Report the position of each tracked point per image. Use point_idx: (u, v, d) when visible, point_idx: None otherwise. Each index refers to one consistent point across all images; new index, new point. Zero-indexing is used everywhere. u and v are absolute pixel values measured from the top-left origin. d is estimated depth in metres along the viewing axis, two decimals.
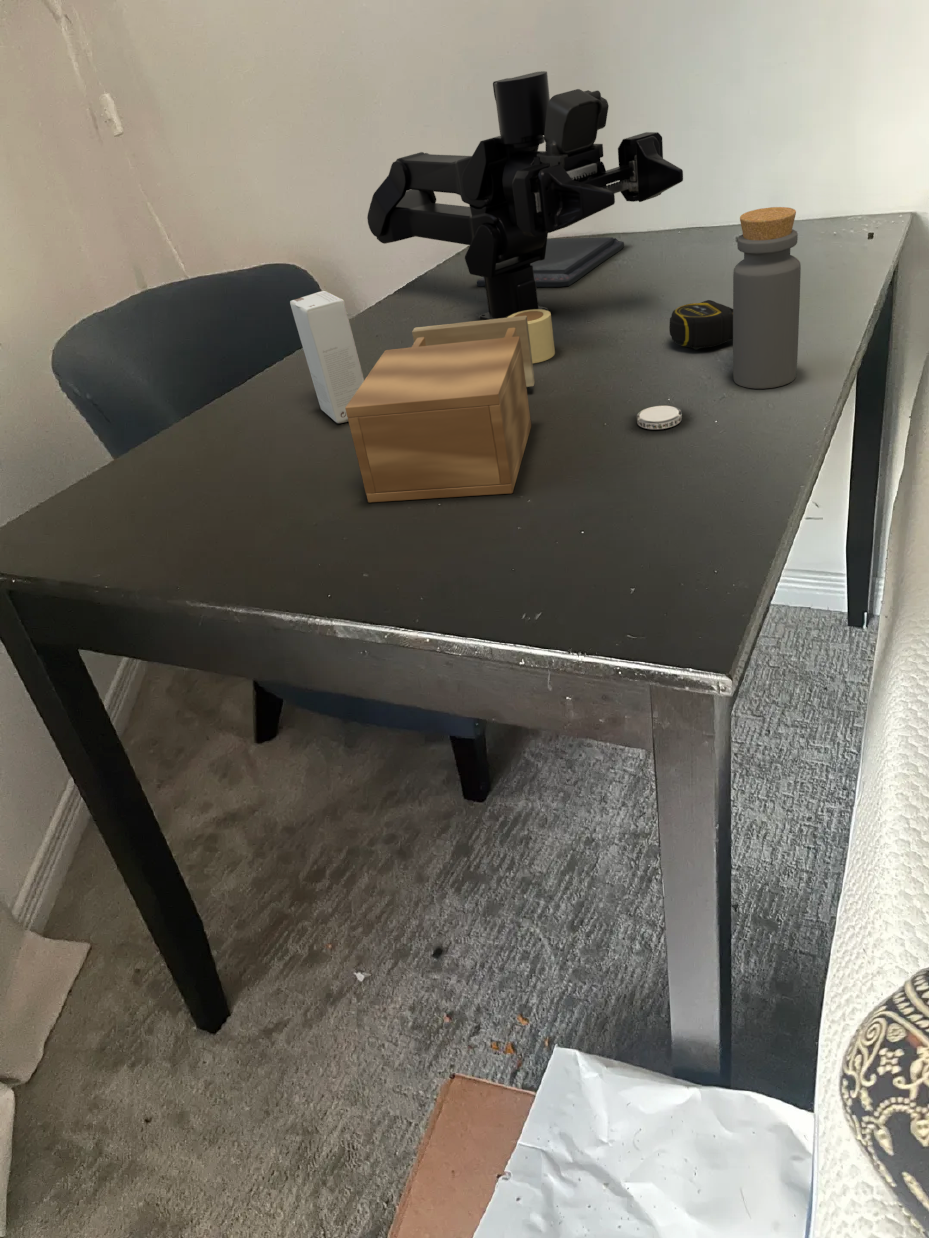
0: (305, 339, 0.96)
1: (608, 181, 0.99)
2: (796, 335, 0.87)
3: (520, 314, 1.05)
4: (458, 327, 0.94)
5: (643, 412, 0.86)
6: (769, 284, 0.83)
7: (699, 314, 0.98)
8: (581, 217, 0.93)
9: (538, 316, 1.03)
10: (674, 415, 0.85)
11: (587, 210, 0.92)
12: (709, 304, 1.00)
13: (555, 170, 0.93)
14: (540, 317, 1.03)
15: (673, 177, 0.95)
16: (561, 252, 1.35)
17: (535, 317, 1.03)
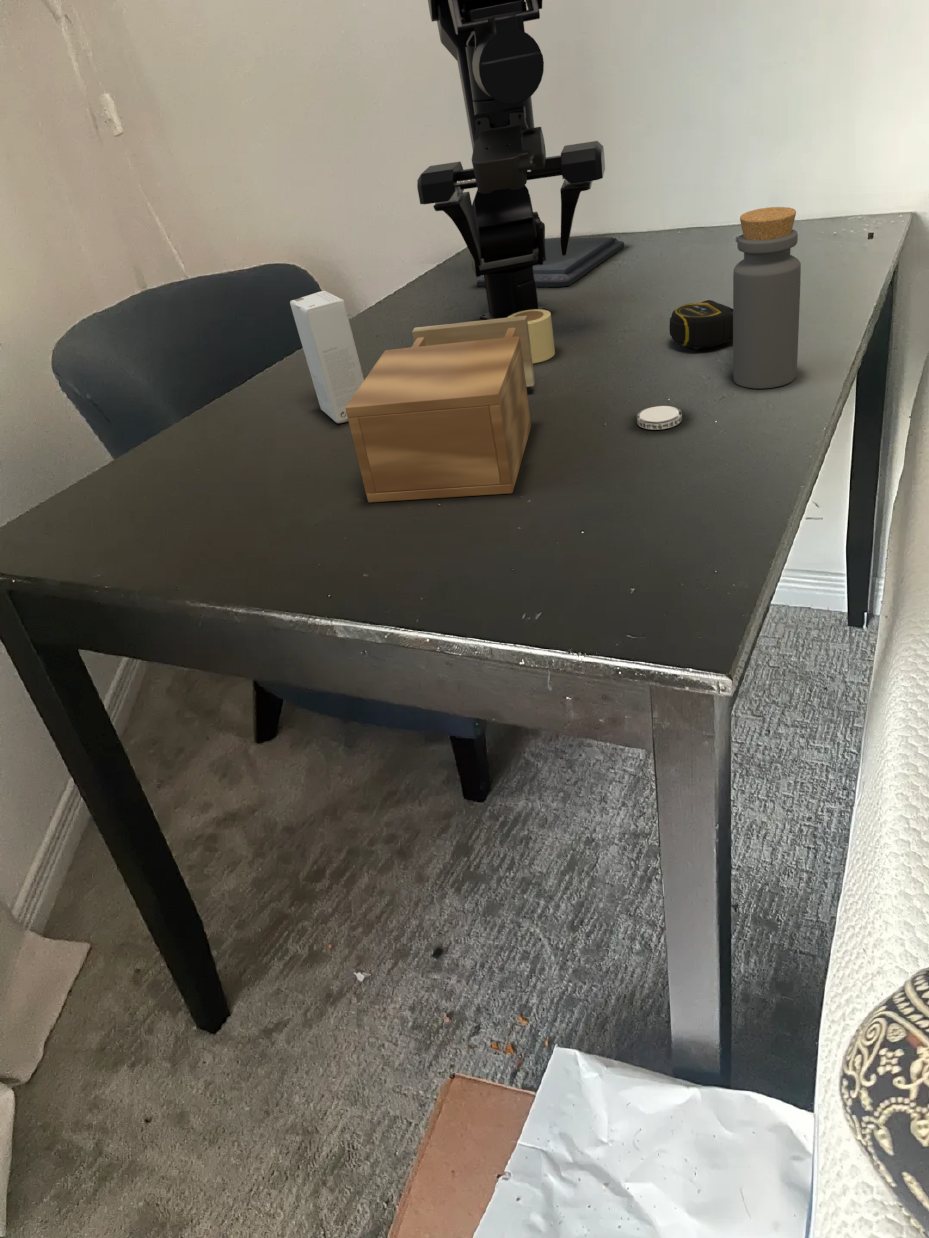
0: (305, 339, 0.96)
1: None
2: (796, 335, 0.87)
3: (520, 314, 1.05)
4: (458, 327, 0.94)
5: (643, 412, 0.86)
6: (769, 284, 0.83)
7: (699, 314, 0.98)
8: None
9: (538, 316, 1.03)
10: (674, 415, 0.85)
11: None
12: (709, 304, 1.00)
13: (451, 209, 0.96)
14: (540, 317, 1.03)
15: None
16: (561, 252, 1.35)
17: (535, 317, 1.03)
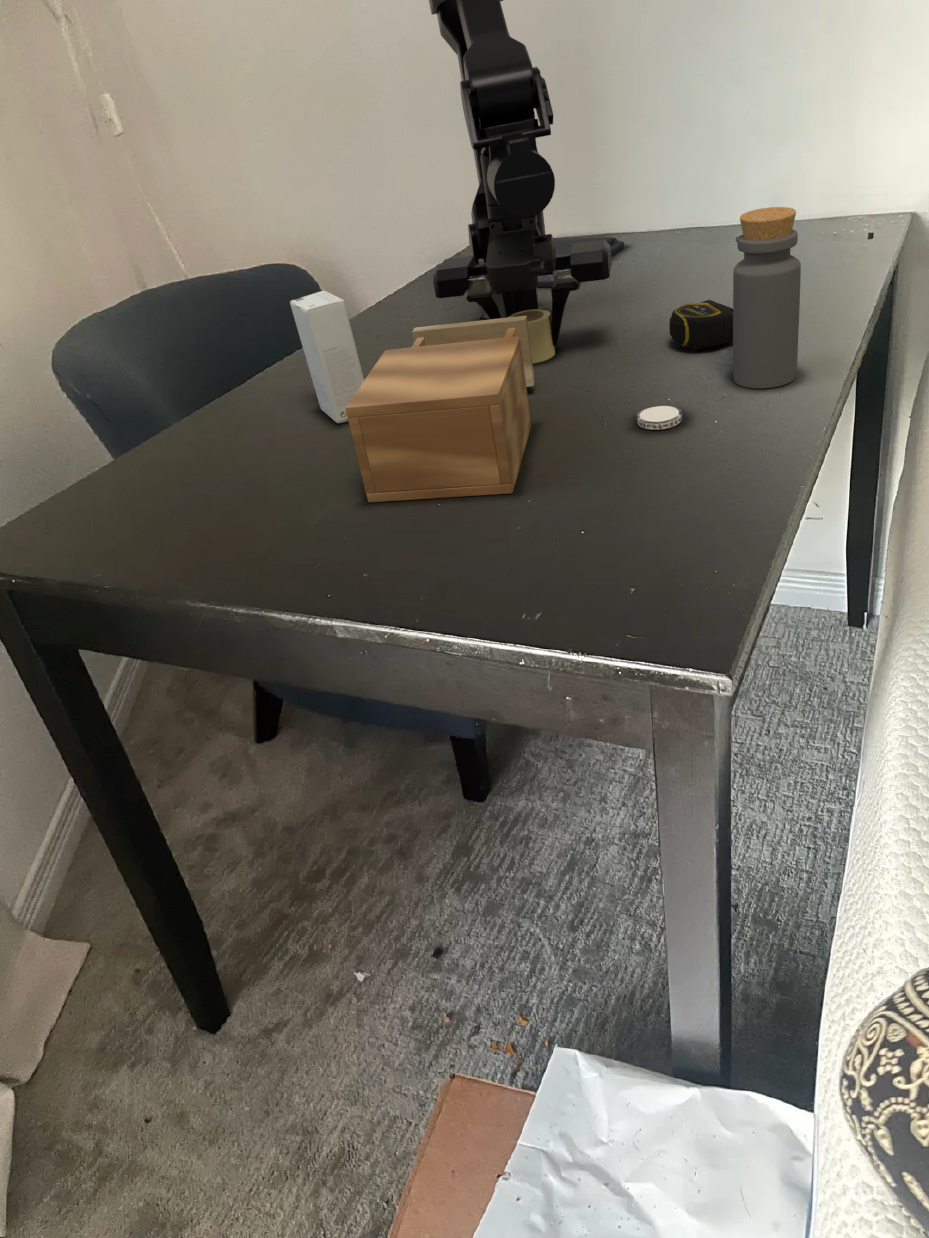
0: (305, 339, 0.96)
1: (540, 274, 1.01)
2: (796, 335, 0.87)
3: (520, 314, 1.05)
4: (458, 327, 0.94)
5: (643, 412, 0.86)
6: (769, 284, 0.83)
7: (699, 314, 0.98)
8: None
9: (538, 316, 1.03)
10: (674, 415, 0.85)
11: None
12: (709, 304, 1.00)
13: (483, 301, 1.01)
14: (541, 317, 1.03)
15: None
16: (561, 252, 1.35)
17: (535, 317, 1.03)
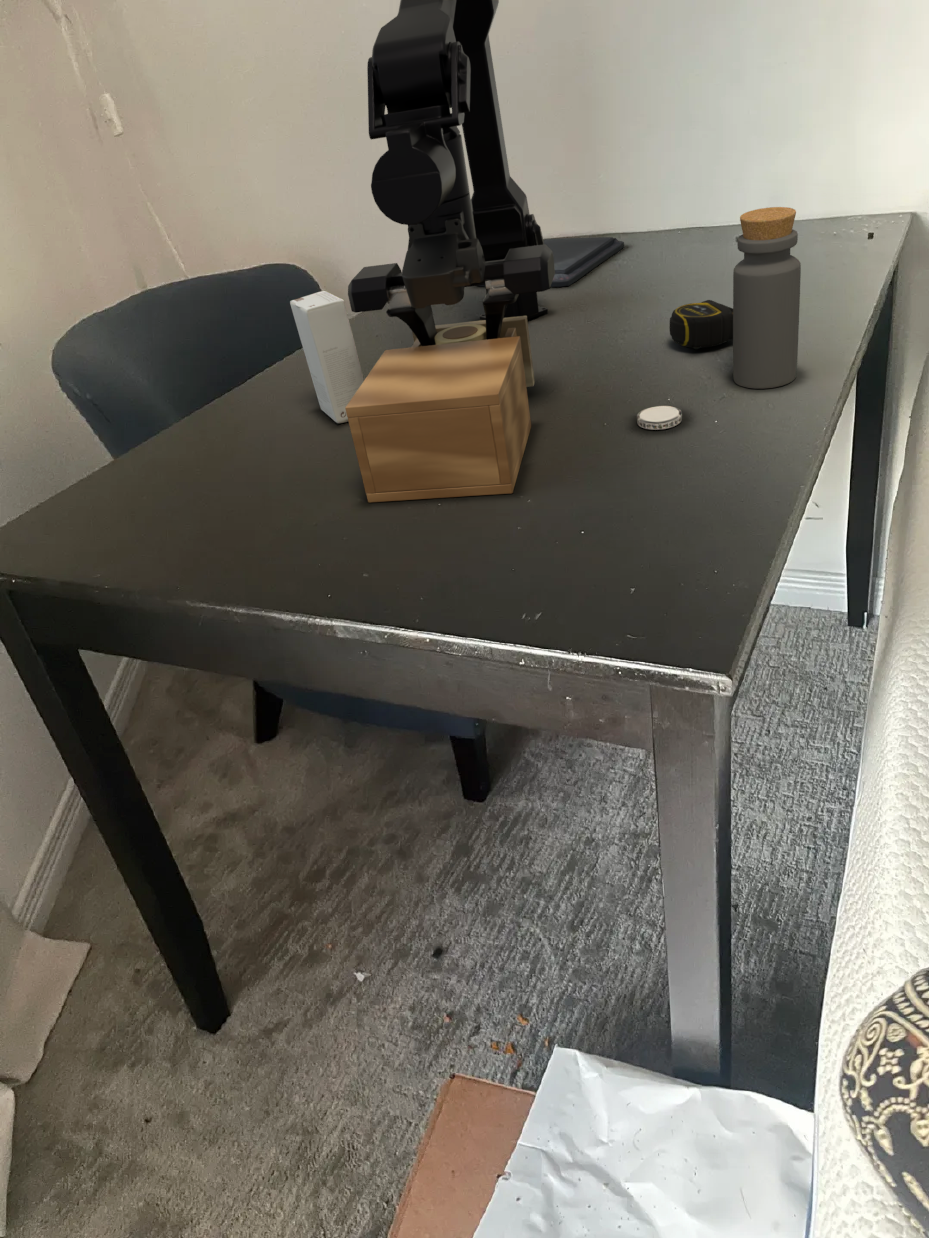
0: (305, 339, 0.96)
1: None
2: (796, 335, 0.87)
3: (451, 330, 0.91)
4: None
5: (643, 412, 0.86)
6: (769, 284, 0.83)
7: (699, 314, 0.98)
8: None
9: (471, 332, 0.89)
10: (674, 415, 0.85)
11: None
12: (709, 304, 1.00)
13: (405, 315, 0.87)
14: (474, 333, 0.89)
15: None
16: (561, 252, 1.35)
17: (467, 334, 0.89)
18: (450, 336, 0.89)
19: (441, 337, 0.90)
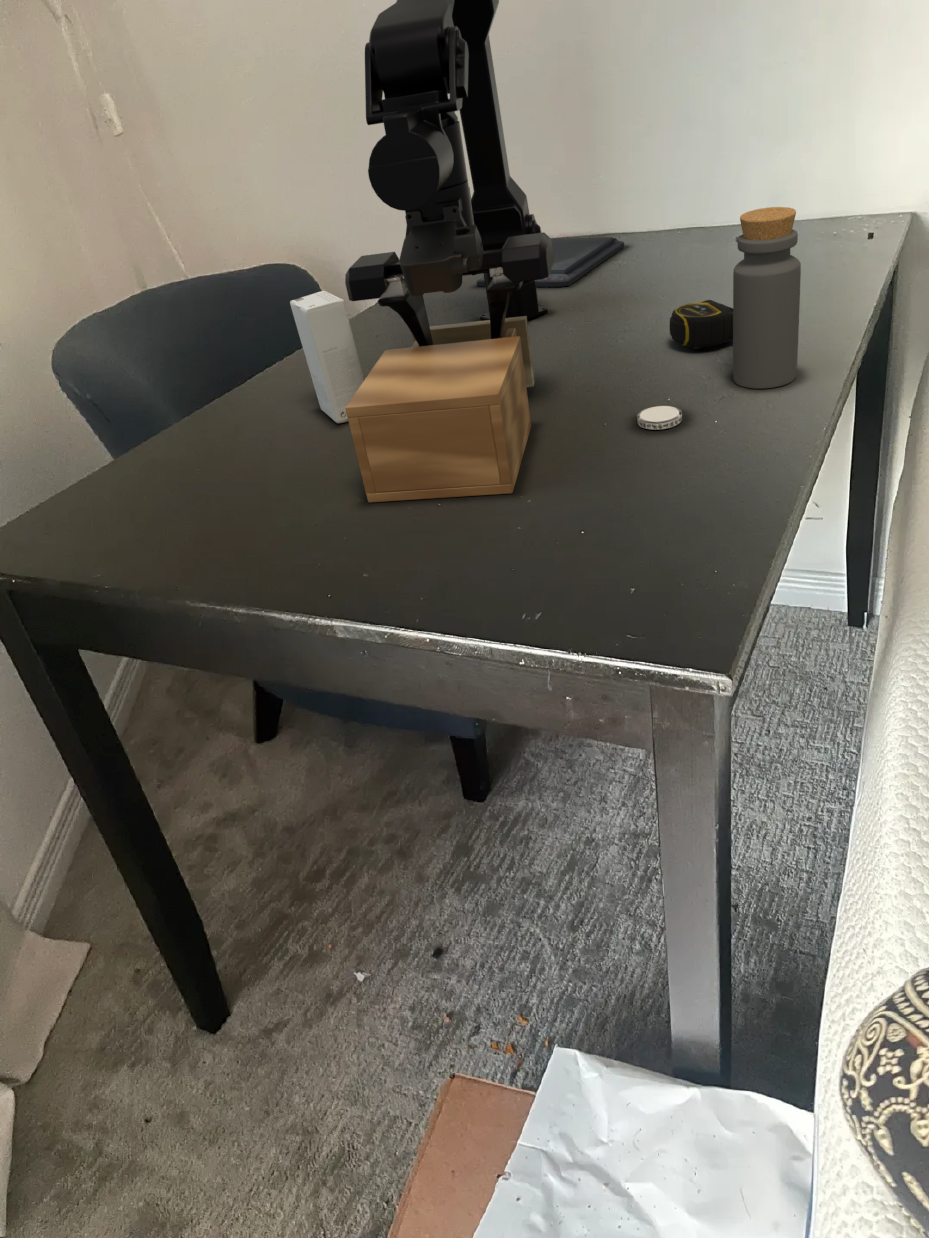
0: (305, 339, 0.96)
1: None
2: (796, 335, 0.87)
3: None
4: (458, 328, 0.94)
5: (643, 412, 0.86)
6: (769, 284, 0.83)
7: (699, 313, 0.98)
8: None
9: None
10: (674, 415, 0.85)
11: None
12: (709, 304, 1.00)
13: (397, 305, 0.87)
14: None
15: None
16: (561, 252, 1.35)
17: None
18: None
19: None
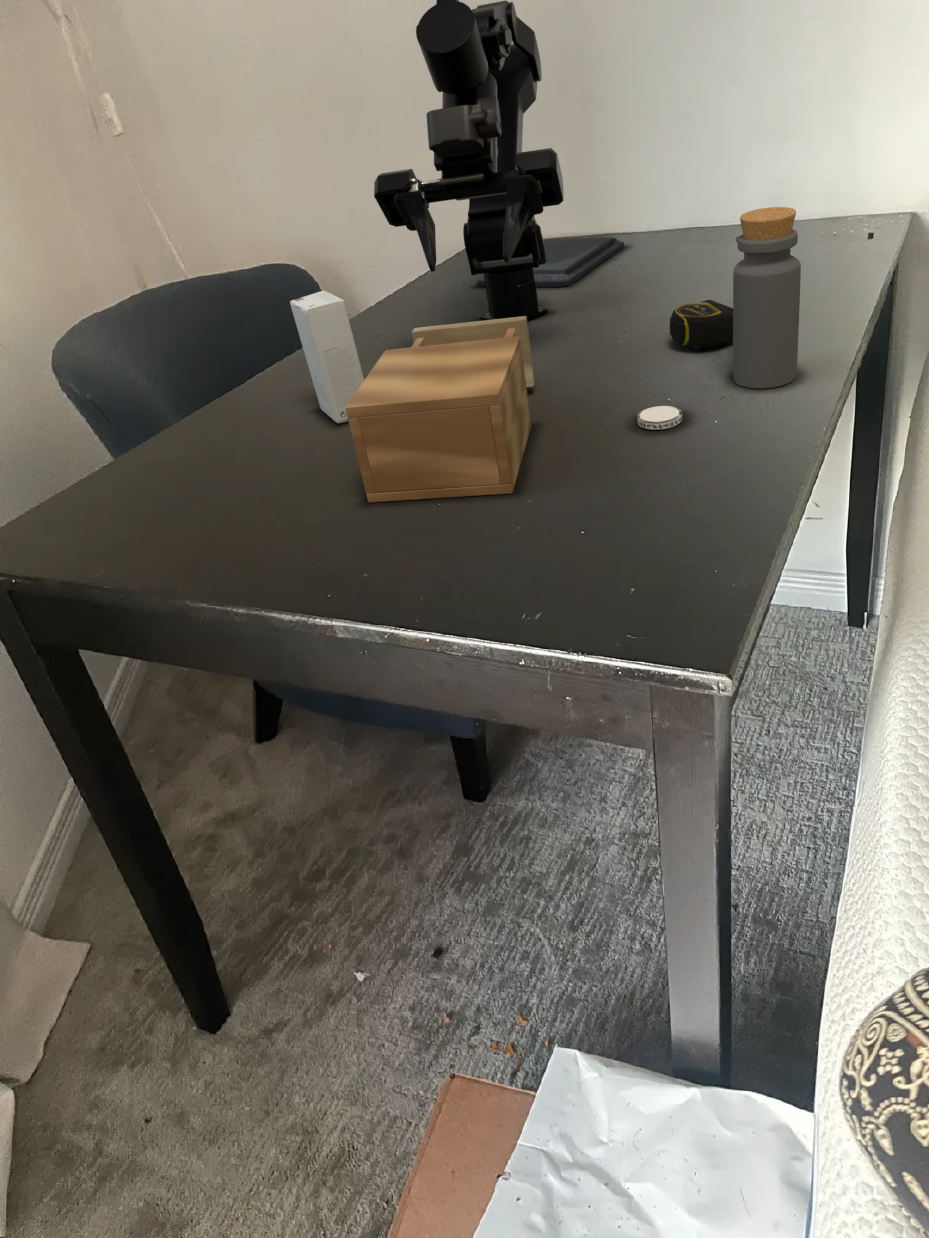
0: (305, 339, 0.96)
1: (487, 193, 0.96)
2: (796, 335, 0.87)
3: None
4: (458, 328, 0.94)
5: (643, 412, 0.86)
6: (769, 284, 0.83)
7: (699, 313, 0.98)
8: None
9: None
10: (674, 415, 0.85)
11: None
12: (709, 304, 1.00)
13: (410, 198, 0.94)
14: None
15: None
16: (561, 252, 1.35)
17: None
18: None
19: None
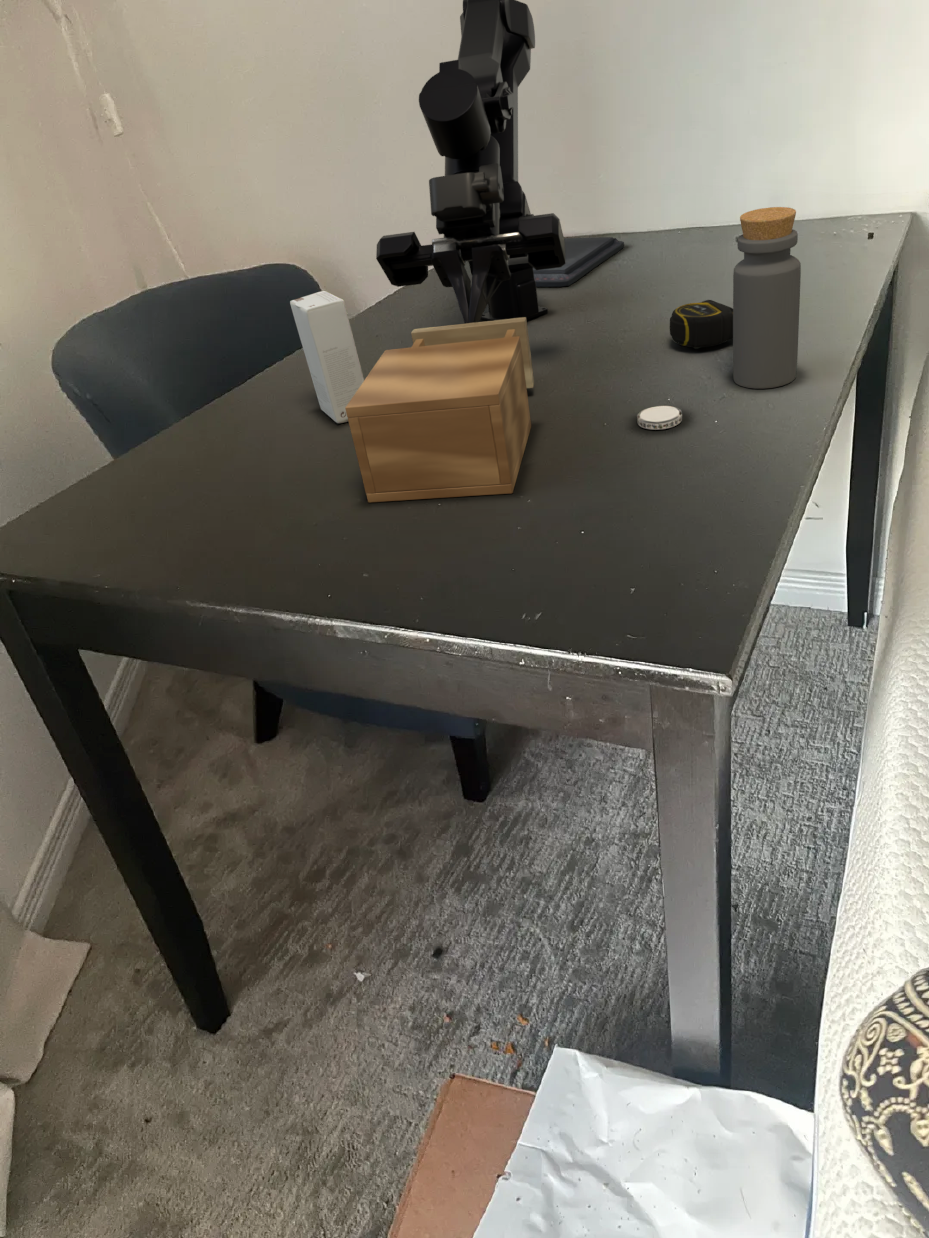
0: (305, 339, 0.96)
1: None
2: (796, 335, 0.87)
3: None
4: (457, 329, 0.93)
5: (643, 412, 0.86)
6: (769, 284, 0.83)
7: (699, 313, 0.98)
8: None
9: None
10: (674, 415, 0.85)
11: None
12: (709, 304, 1.00)
13: (447, 257, 0.94)
14: None
15: None
16: None
17: None
18: None
19: None
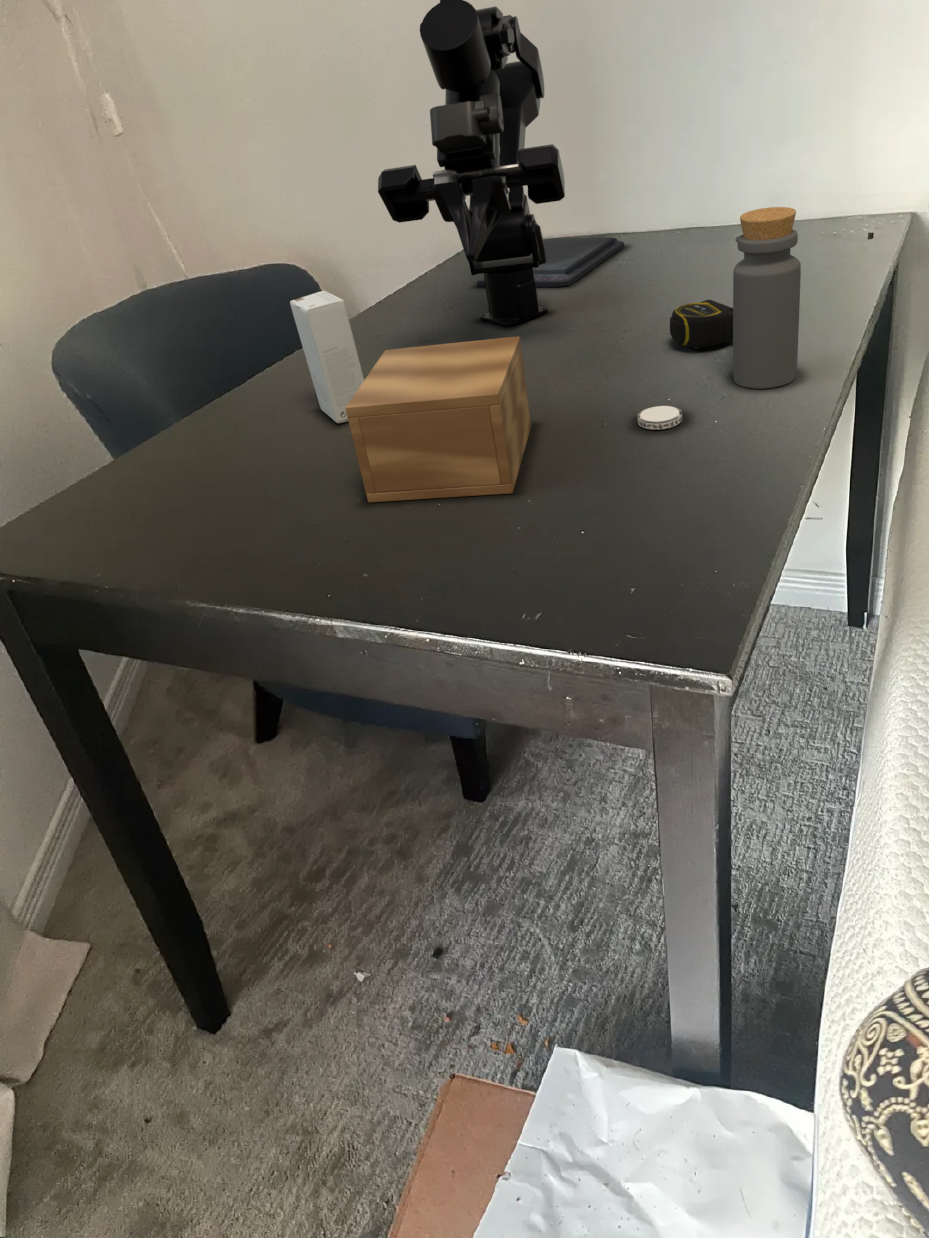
0: (305, 339, 0.96)
1: None
2: (796, 335, 0.87)
3: None
4: None
5: (644, 412, 0.86)
6: (769, 284, 0.83)
7: (700, 313, 0.98)
8: None
9: None
10: (675, 415, 0.85)
11: None
12: (709, 304, 1.00)
13: (448, 188, 0.95)
14: None
15: None
16: (561, 252, 1.35)
17: None
18: None
19: None
